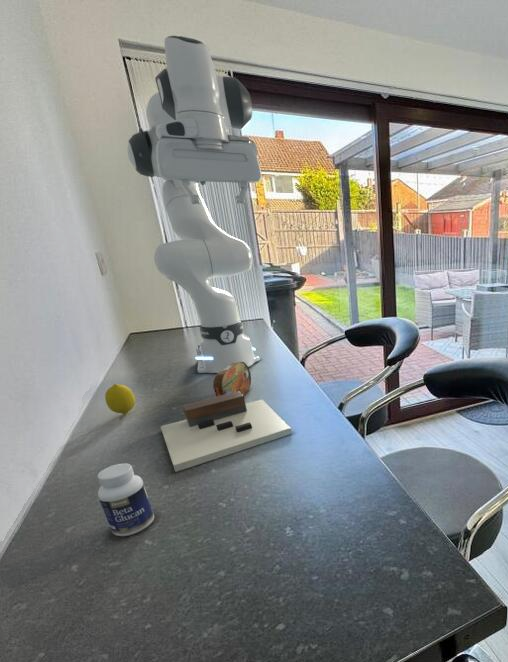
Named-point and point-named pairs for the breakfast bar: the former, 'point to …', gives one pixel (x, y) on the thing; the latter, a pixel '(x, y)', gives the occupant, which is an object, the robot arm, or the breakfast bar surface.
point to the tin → (232, 379)
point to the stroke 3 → (243, 427)
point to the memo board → (222, 436)
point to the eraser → (214, 408)
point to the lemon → (119, 399)
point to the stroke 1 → (206, 424)
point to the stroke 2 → (224, 425)
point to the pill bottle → (124, 500)
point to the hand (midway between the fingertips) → (219, 204)
